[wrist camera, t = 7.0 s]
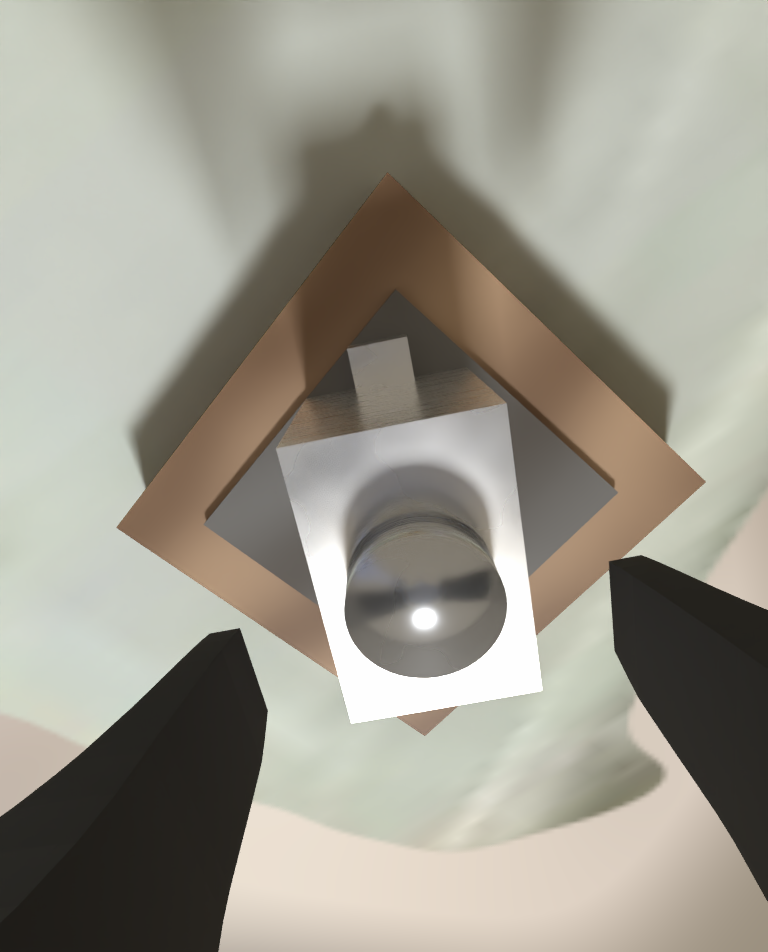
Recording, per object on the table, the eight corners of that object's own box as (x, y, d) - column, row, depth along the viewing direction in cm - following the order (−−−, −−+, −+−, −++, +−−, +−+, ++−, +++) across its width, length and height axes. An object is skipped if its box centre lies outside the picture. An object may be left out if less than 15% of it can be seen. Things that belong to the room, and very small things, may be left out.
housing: (365, 637, 18) (361, 804, 12) (295, 356, 15) (245, 402, 9) (502, 612, 18) (563, 771, 12) (459, 322, 15) (514, 347, 9)
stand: (147, 498, 19) (111, 531, 17) (385, 188, 16) (388, 169, 14) (419, 688, 22) (425, 742, 20) (665, 457, 19) (711, 485, 17)
